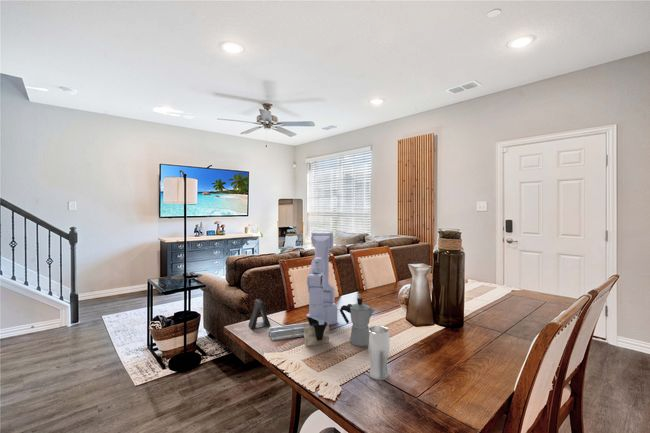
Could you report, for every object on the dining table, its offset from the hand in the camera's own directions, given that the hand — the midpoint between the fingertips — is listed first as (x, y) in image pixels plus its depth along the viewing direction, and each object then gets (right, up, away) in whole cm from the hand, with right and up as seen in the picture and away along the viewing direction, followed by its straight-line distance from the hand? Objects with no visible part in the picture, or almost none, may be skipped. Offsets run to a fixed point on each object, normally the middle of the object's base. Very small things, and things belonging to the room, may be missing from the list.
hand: (316, 336), depth 122 cm
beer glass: (+21, -3, -25) cm, 32 cm away
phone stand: (-28, -3, +19) cm, 34 cm away
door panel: (0, -3, 0) cm, 3 cm away
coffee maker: (+17, -3, 0) cm, 17 cm away
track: (-11, -3, +10) cm, 15 cm away
